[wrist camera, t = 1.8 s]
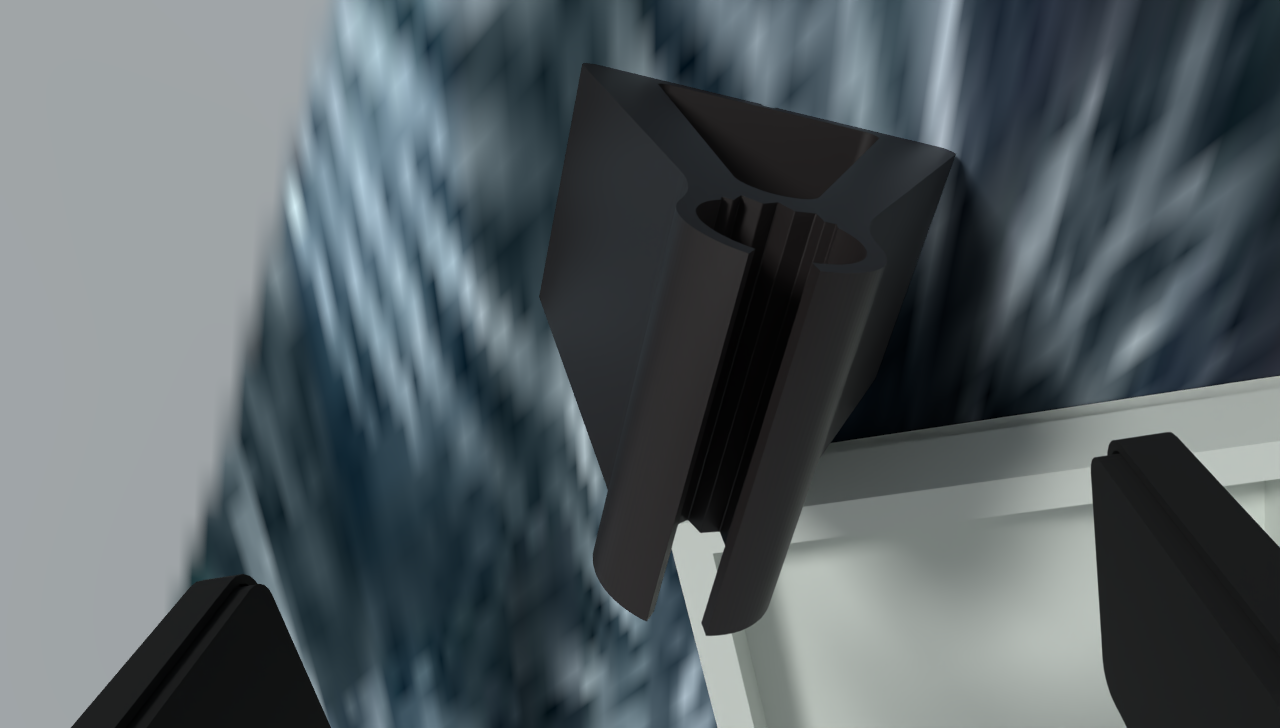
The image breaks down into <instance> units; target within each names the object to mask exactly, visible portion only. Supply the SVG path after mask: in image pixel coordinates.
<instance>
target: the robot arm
mask: <svg viewBox="0 0 1280 728" xmlns="http://www.w3.org/2000/svg"><path fill="white" fill-rule="evenodd" d="M1091 484H1092V500H1093V516H1094V532H1095V547H1096V563H1097V579H1098V595H1099V611H1100V626H1101V642H1102V658H1103V668H1104V674H1105V678H1106V682H1107V686H1108V689H1109V692H1110V695H1111V697H1112V699H1113V701H1114V704H1115V706H1116V708H1117V709H1118V711H1119V713H1120V715H1121V717H1122V719H1123V721H1124V723H1125V725H1126V727H1127V728H1280V547H1279V546H1278V545H1277V544H1276V543H1275V542H1274V541H1273V540H1272V538H1271V537H1270V536H1269V535H1268V534H1267V533H1266V532H1265V531H1264V530H1263V529H1262V528H1261V527H1260V525H1259V524H1258V523H1257V522H1256V521H1255V520H1254V519H1253V518H1252V517H1251V516H1250V515H1249V514H1248V513H1247V511H1246V510H1245V509H1244V508H1243V507H1242V506H1241V505H1240V504H1239V503H1238V502H1237V501H1236V500H1235V499H1234V497H1233V496H1232V495H1231V494H1230V493H1229V492H1228V491H1227V490H1226V489H1225V488H1224V487H1223V486H1222V484H1221V483H1220V482H1219V481H1218V480H1217V479H1216V478H1215V477H1214V476H1213V475H1212V474H1211V473H1210V472H1209V470H1208V469H1207V468H1206V467H1205V466H1204V465H1203V464H1202V463H1201V462H1200V461H1199V460H1198V459H1197V458H1196V456H1195V455H1194V454H1193V453H1192V452H1191V451H1190V450H1189V449H1188V448H1187V447H1186V446H1185V445H1184V443H1183V442H1182V441H1181V440H1180V439H1179V438H1178V437H1177V436H1176V435H1174V434H1173V433H1172V432H1164V433H1157V434H1151V435H1144V436H1138V437H1131V438H1125V439H1118V440H1112V441H1111V442H1110V444H1109V447H1108V451H1107V456H1100V457H1094V458H1093V459H1092V462H1091ZM71 728H331V727H330V725H329V722H328V720H327V718H326V716H325V713H324V711H323V709H322V707H321V704H320V702H319V700H318V697H317V695H316V693H315V691H314V688H313V686H312V684H311V682H310V679H309V677H308V675H307V673H306V670H305V668H304V666H303V663H302V661H301V659H300V657H299V654H298V652H297V650H296V648H295V645H294V643H293V641H292V639H291V636H290V634H289V632H288V630H287V627H286V625H285V623H284V620H283V618H282V616H281V614H280V611H279V609H278V607H277V605H276V602H275V600H274V598H273V596H272V594H271V592H270V590H269V589H268V588H267V587H266V586H265V585H262V584H257V583H256V581H255V580H254V579H253V578H251V577H250V576H248V575H244V574H241V575H235V576H228V577H222V578H215V579H209V580H203V581H199V582H196V583H195V584H193V585H192V586H191V587H190V588H189V589H188V590H187V592H186V593H185V594H184V595H183V596H182V597H181V599H180V600H179V601H178V602H177V603H176V604H175V606H174V607H173V608H172V609H171V610H170V612H169V613H168V614H167V615H166V616H165V617H164V619H163V620H162V621H161V622H160V623H159V625H158V626H157V627H156V628H155V629H154V630H153V632H152V633H151V634H150V635H149V636H148V637H147V639H146V640H145V641H144V642H143V644H142V645H141V646H140V647H139V648H138V649H137V650H136V652H135V653H134V654H133V655H132V656H131V658H130V659H129V660H128V661H127V662H126V664H125V665H124V666H123V667H122V668H121V669H120V670H119V672H118V673H117V674H116V675H115V676H114V678H113V679H112V680H111V681H110V682H109V683H108V685H107V686H106V687H105V688H104V689H103V690H102V692H101V693H100V694H99V695H98V696H97V698H96V699H95V700H94V701H93V702H92V704H91V705H90V706H89V707H88V708H87V709H86V711H85V712H84V713H83V714H82V715H81V716H80V718H79V719H78V720H77V721H76V722H75V724H74V725H73V726H72V727H71Z"/></svg>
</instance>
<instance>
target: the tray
mask: <svg viewBox="0 0 1280 728" xmlns="http://www.w3.org/2000/svg"><path fill="white" fill-rule="evenodd" d="M1164 432H1172V433H1173V434H1174V435H1176V436H1177V437H1178V438H1179V439H1180V440H1181V441H1182V442H1183V443H1184V445H1185V446H1186V447H1187V448H1188V449H1189V450H1190V451H1191V452H1192V453H1193V454H1194V455H1195V456H1196V458H1197V459H1198V460H1199V461H1200V462H1201V463H1202V464H1203V465H1204V466H1205V467H1206V468H1207V469H1208V470H1209V472H1210V473H1211V474H1212V475H1213V476H1214V477H1215V478H1216V479H1217V480H1218V481H1219V482H1220V483H1221V484H1222V486H1223V487H1224V488H1225V489H1226V490H1227V491H1228V492H1229V493H1230V494H1231V495H1232V496H1233V497H1234V499H1235V500H1236V501H1237V502H1238V503H1239V504H1240V505H1241V506H1242V507H1243V508H1244V509H1245V510H1246V511H1247V513H1248V514H1249V515H1250V516H1251V517H1252V518H1253V519H1254V520H1255V521H1256V522H1257V523H1258V524H1259V525H1260V527H1261V528H1262V529H1263V530H1264V531H1265V532H1266V533H1267V534H1268V535H1269V536H1270V537H1271V538H1272V540H1273V541H1274V542H1275V543H1276V544H1277V545H1278V546H1279V547H1280V376H1275V377H1269V378H1262V379H1255V380H1249V381H1242V382H1235V383H1228V384H1222V385H1215V386H1208V387H1202V388H1195V389H1188V390H1182V391H1175V392H1168V393H1162V394H1155V395H1148V396H1142V397H1135V398H1128V399H1122V400H1115V401H1108V402H1102V403H1095V404H1088V405H1082V406H1075V407H1068V408H1062V409H1055V410H1048V411H1041V412H1035V413H1028V414H1021V415H1015V416H1008V417H1001V418H995V419H988V420H981V421H975V422H968V423H961V424H955V425H948V426H941V427H935V428H928V429H921V430H915V431H908V432H901V433H895V434H888V435H881V436H875V437H868V438H861V439H854V440H848V441H841V442H834V443H830V444H829V446H828V447H827V449H826V450H825V451H824V453H823V454H822V456H821V457H820V459H819V461H818V464H817V467H816V470H815V473H814V476H813V479H812V482H811V485H810V488H809V491H808V493H807V496H806V499H805V502H804V505H803V508H802V511H801V514H800V517H799V520H798V523H797V525H796V528H795V531H794V534H793V537H792V540H791V543H790V546H789V549H788V552H787V555H786V558H785V560H784V563H783V566H782V569H781V572H780V575H779V578H778V581H777V584H776V587H775V590H774V593H773V595H772V598H771V601H770V604H769V607H768V609H767V611H766V613H765V614H764V615H763V617H762V618H761V619H760V620H759V621H757V622H756V623H755V624H753V625H752V626H750V627H748V628H746V629H744V630H741V631H739V632H735V633H731V634H726V635H719V636H706V635H705V632H704V629H703V626H702V624H701V622H702V619H703V616H704V612H705V609H706V606H707V603H708V599H709V596H710V593H711V590H712V586H713V583H714V580H715V577H716V573H717V570H718V567H719V564H720V560H721V557H722V554H723V551H724V548H725V544H724V542H723V539H722V536H721V534H720V532H708V533H700V532H699V531H698V530H697V529H696V528H695V527H694V526H693V525H692V524H691V523H690V522H689V521H688V520H687V521H684V522H682V523H680V524H678V527H677V530H676V534H675V537H674V541H673V544H672V551H673V555H674V559H675V563H676V567H677V571H678V575H679V579H680V583H681V587H682V590H683V594H684V598H685V602H686V606H687V610H688V614H689V618H690V622H691V626H692V630H693V633H694V637H695V641H696V645H697V649H698V653H699V657H700V661H701V665H702V669H703V672H704V676H705V680H706V684H707V688H708V692H709V696H710V700H711V704H712V708H713V711H714V715H715V719H716V723H717V727H718V728H1127V727H1126V725H1125V723H1124V721H1123V719H1122V717H1121V715H1120V713H1119V711H1118V709H1117V708H1116V706H1115V704H1114V701H1113V699H1112V697H1111V695H1110V692H1109V689H1108V686H1107V682H1106V678H1105V674H1104V668H1103V658H1102V642H1101V626H1100V611H1099V595H1098V579H1097V563H1096V547H1095V532H1094V516H1093V500H1092V484H1091V462H1092V459H1093V458H1094V457H1100V456H1107V451H1108V447H1109V444H1110V442H1111V441H1112V440H1118V439H1125V438H1131V437H1138V436H1144V435H1151V434H1157V433H1164Z"/></svg>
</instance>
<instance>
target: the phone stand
mask: <svg viewBox="0 0 1280 728" xmlns="http://www.w3.org/2000/svg"><path fill="white" fill-rule="evenodd" d="M955 155H956V154H955V153H954V152H952V151H949V150H947V149H944V148H940V147H936V146H932V145H928V144H924V143H920V142H916V141H911V140H907V139H903V138H899V137H895V136H891V135H887V134H882V133H878V132H874V131H870V130H866V129H862V128H858V127H853V126H849V125H845V124H841V123H837V122H833V121H828V120H824V119H820V118H816V117H812V116H808V115H804V114H799V113H795V112H791V111H787V110H783V109H779V108H769V107H766V106H763V105H761V104H758V103H754V102H750V101H745V100H741V99H737V98H733V97H729V96H725V95H721V94H716V93H712V92H708V91H704V90H700V89H696V88H692V87H687V86H683V85H679V84H675V83H671V82H667V81H662V80H658V79H654V78H650V77H646V76H642V75H638V74H633V73H629V72H625V71H621V70H617V69H613V68H609V67H604V66H600V65H596V64H589V63H583V64H582V68H581V74H580V79H579V85H578V90H577V95H576V101H575V106H574V112H573V117H572V123H571V128H570V133H569V139H568V144H567V150H566V155H565V160H564V166H563V171H562V177H561V182H560V188H559V193H558V198H557V204H556V209H555V215H554V220H553V225H552V231H551V236H550V242H549V247H548V252H547V258H546V263H545V269H544V274H543V280H542V285H541V290H540V296H539V297H540V300H541V303H542V306H543V309H544V311H545V314H546V317H547V320H548V323H549V325H550V328H551V331H552V334H553V337H554V339H555V342H556V345H557V348H558V351H559V354H560V356H561V359H562V362H563V365H564V368H565V370H566V373H567V376H568V379H569V382H570V384H571V387H572V390H573V393H574V396H575V398H576V401H577V404H578V407H579V410H580V412H581V415H582V418H583V421H584V424H585V426H586V429H587V432H588V435H589V438H590V440H591V443H592V446H593V449H594V452H595V455H596V457H597V460H598V463H599V466H600V469H601V471H602V474H603V477H604V480H605V483H606V486H607V489H608V493H607V497H606V501H605V505H604V509H603V514H602V518H601V522H600V526H599V530H598V535H597V539H596V543H595V547H594V551H593V565H594V569H595V572H596V575H597V577H598V579H599V581H600V583H601V584H602V586H603V587H604V589H605V590H606V591H607V592H608V594H609V595H610V596H611V597H612V598H613V599H614V600H615V601H616V602H617V603H619V604H620V605H621V606H622V607H624V608H625V609H626V610H628V611H629V612H631V613H632V614H634V615H635V616H637V617H639V618H641V619H643V620H645V621H647V620H648V619H649V617H650V616H651V614H652V613H653V612H654V609H655V605H656V602H657V598H658V594H659V591H660V587H661V584H662V580H663V577H664V573H665V569H666V566H667V562H668V559H669V555H670V552H671V548H672V544H673V541H674V537H675V534H676V530H677V527H678V524H680V523H682V522H684V521H687V520H688V521H689V522H690V523H691V524H692V525H693V526H694V527H695V528H696V529H697V530H698V531H699V532H700V533H708V532H720V534H721V536H722V539H723V542H724V544H725V548H724V551H723V554H722V557H721V560H720V564H719V567H718V570H717V573H716V577H715V580H714V583H713V586H712V590H711V593H710V596H709V599H708V603H707V606H706V609H705V612H704V616H703V619H702V622H701V624H702V626H703V629H704V632H705V635H706V636H719V635H726V634H731V633H735V632H739V631H741V630H744V629H746V628H748V627H750V626H752V625H753V624H755V623H756V622H757V621H759V620H760V619H761V618H762V617H763V615H764V614H765V613H766V611H767V609H768V607H769V604H770V601H771V598H772V595H773V593H774V590H775V587H776V584H777V581H778V578H779V575H780V572H781V569H782V566H783V563H784V560H785V558H786V555H787V552H788V549H789V546H790V543H791V540H792V537H793V534H794V531H795V528H796V525H797V523H798V520H799V517H800V514H801V511H802V508H803V505H804V502H805V499H806V496H807V493H808V491H809V488H810V485H811V482H812V479H813V476H814V473H815V470H816V467H817V464H818V461H819V459H820V457H821V456H822V454H823V453H824V451H825V450H826V449H827V447H828V446H829V444H830V443H831V441H832V440H833V439H834V437H835V436H836V434H837V433H838V431H839V430H840V429H841V427H842V426H843V424H844V423H845V421H846V420H847V419H848V417H849V416H850V414H851V413H852V412H853V410H854V409H855V407H856V406H857V404H858V403H859V402H860V400H861V399H862V397H863V396H864V394H865V393H866V392H867V390H868V389H869V387H870V386H871V384H872V383H873V382H874V380H875V379H876V376H877V373H878V370H879V367H880V365H881V362H882V359H883V356H884V353H885V351H886V348H887V345H888V342H889V339H890V337H891V334H892V331H893V328H894V325H895V323H896V320H897V317H898V314H899V311H900V309H901V306H902V303H903V300H904V297H905V295H906V292H907V289H908V286H909V283H910V281H911V278H912V275H913V272H914V269H915V267H916V264H917V261H918V258H919V255H920V253H921V250H922V247H923V244H924V241H925V239H926V236H927V233H928V230H929V227H930V225H931V222H932V219H933V216H934V213H935V211H936V208H937V205H938V202H939V199H940V197H941V194H942V191H943V188H944V185H945V183H946V180H947V177H948V174H949V171H950V169H951V166H952V163H953V160H954V157H955Z"/></svg>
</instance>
